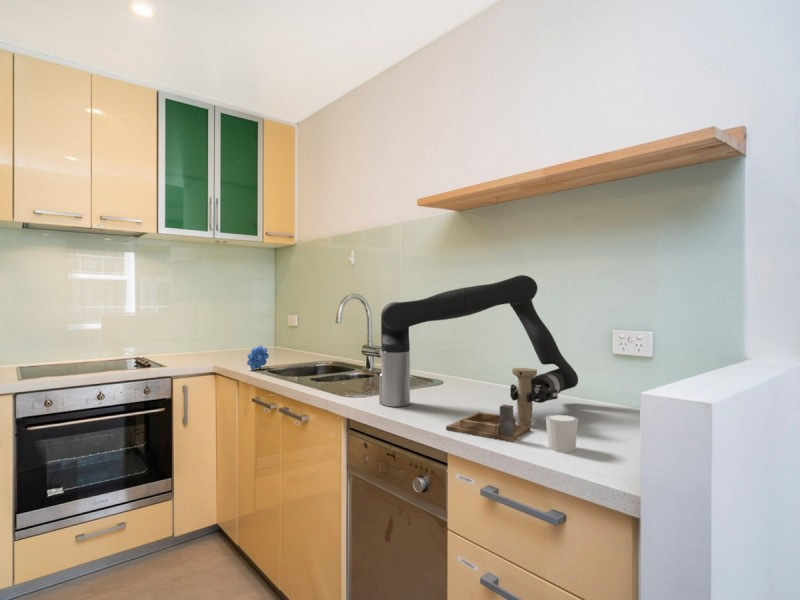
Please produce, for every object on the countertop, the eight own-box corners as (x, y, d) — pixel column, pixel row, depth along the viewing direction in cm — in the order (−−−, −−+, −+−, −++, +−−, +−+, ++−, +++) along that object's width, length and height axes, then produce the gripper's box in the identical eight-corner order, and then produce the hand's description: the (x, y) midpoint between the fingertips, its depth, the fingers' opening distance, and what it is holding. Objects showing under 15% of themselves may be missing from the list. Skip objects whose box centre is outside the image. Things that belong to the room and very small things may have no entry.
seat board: (446, 430, 119) (445, 399, 119) (467, 420, 129) (467, 391, 129) (512, 442, 108) (511, 408, 108) (530, 430, 118) (530, 399, 118)
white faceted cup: (545, 451, 101) (544, 420, 101) (546, 442, 108) (546, 412, 108) (578, 455, 99) (578, 422, 99) (578, 445, 105) (577, 415, 105)
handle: (517, 421, 127) (517, 367, 127) (540, 425, 123) (539, 369, 123) (509, 425, 123) (509, 369, 123) (532, 429, 119) (532, 371, 119)
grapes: (264, 367, 236) (264, 344, 236) (271, 368, 232) (271, 345, 232) (243, 370, 228) (242, 345, 228) (249, 371, 223) (249, 346, 223)
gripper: (519, 372, 139) (495, 380, 125) (567, 376, 130) (547, 385, 116) (519, 397, 139) (495, 408, 125) (567, 403, 130) (547, 415, 116)
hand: (520, 397), depth 121 cm, fingers closed on handle, 3 cm apart
